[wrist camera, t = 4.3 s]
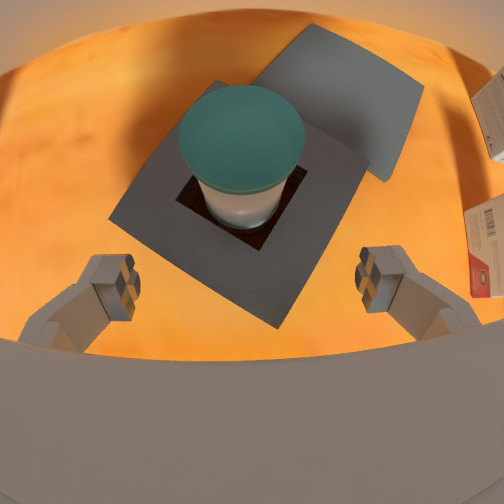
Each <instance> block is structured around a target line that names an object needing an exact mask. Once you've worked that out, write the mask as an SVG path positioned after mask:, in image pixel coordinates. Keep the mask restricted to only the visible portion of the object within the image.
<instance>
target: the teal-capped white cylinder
mask: <svg viewBox="0 0 504 504" xmlns="http://www.w3.org/2000/svg"><path fill="white" fill-rule="evenodd" d="M304 142H305V132H304V126H303V123H302V120H301V118H300V116H299V114H298V112H297V111H296V109H295V108H294V107H293V106H292V105H291V104H290V103H289V102H288V101H287V100H286V99H285V98H283V97H282V96H280V95H279V94H277V93H275V92H273V91H271V90H268V89H265V88H262V87H258V86H252V85H233V86H227V87H223V88H220V89H217V90H214V91H212V92H210V93H208V94H206V95H205V96H203V97H202V98H200V99H199V100H198V101H197V102H196V103H195V104H194V105H193V106H192V107H191V108H190V109H189V110H188V112H187V113H186V115H185V117H184V119H183V121H182V124H181V127H180V132H179V144H180V149H181V152H182V155H183V157H184V159H185V162H186V164H187V166H188V168H189V169H190V171H191V172H192V173H193V175H194V176H195V177H196V178H197V179H198V182H199V184H200V187H201V189H202V192H203V194H204V198H205V202H206V205H207V208H208V210H209V212H210V213H211V215H212V216H213V218H214V219H215V221H216V222H217V223H218V224H219V225H220V226H221V227H223V228H224V229H226V230H228V231H230V232H233V233H238V234H247V233H252V232H255V231H257V230H260V229H261V228H263V227H264V226H265V225H266V224H267V223H268V222H269V221H270V220H271V218H272V216H273V215H274V214H275V212H276V210H277V208H278V206H279V203H280V199H281V193H282V191H283V188H284V185H285V183H286V180H287V177H288V176H289V175H290V174H291V173H292V171H293V170H294V169H295V167H296V165H297V163H298V161H299V158H300V156H301V153H302V150H303V148H304Z"/></svg>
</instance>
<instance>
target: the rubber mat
mask: <svg viewBox="0 0 504 504" xmlns="http://www.w3.org/2000/svg"><path fill="white" fill-rule="evenodd" d="M252 86H258V87H262V88H265V89H268V90H271V91H273V92H275V93H277V94H279V95H280V96H282V97H283V98H285V99H286V100H287V101H288V102H289V103H290V104H291V105H292V106H293V107H294V108H295V109H296V111H297V112H298V114H299V116H300V118H301V120H302V121H304V122H306V123H308V124H310V125H312V126H313V127H315V128H317V129H319V130H320V131H322V132H324V133H326V134H327V135H329V136H331V137H332V138H334V139H336V140H337V141H339V142H341V143H342V144H344V145H345V146H347V147H349V148H350V149H352V150H353V151H355V152H356V153H358V154H360V155H361V156H363V157H364V158H366V159H367V160H369V161H370V164H369V166H368V168H367V171H369V172H370V173H372V174H373V175H375V176H376V177H378V178H379V179H381V180H382V181H383V182H386V181H387V180H389V179H390V177H391V175H392V173H393V170H394V168H395V165H396V163H397V160H398V158H399V156H400V153H401V151H402V148H403V145H404V143H405V140H406V138H407V135H408V132H409V130H410V127H411V124H412V122H413V119H414V116H415V113H416V110H417V107H418V104H419V102H420V99H421V96H422V92H423V89H424V86H423V85H422V84H420V83H419V82H417V81H416V80H414V79H413V78H412V77H410V76H409V75H407V74H406V73H404V72H403V71H401V70H400V69H398V68H397V67H395V66H393V65H392V64H390V63H389V62H387V61H385V60H384V59H382V58H380V57H379V56H377V55H375V54H373V53H372V52H370V51H368V50H366V49H364V48H363V47H361V46H359V45H357V44H355V43H353V42H351V41H349V40H347V39H345V38H343V37H341V36H339V35H337V34H335V33H333V32H331V31H329V30H326V29H324V28H322V27H320V26H317V25H315V24H311V25H310V26H309V27H308V28H307V29H305V30H304V31H303V32H302V33H301V34H300V35H299V36H298V37H297V38H296V39H295V40H294V41H293V42H292V43H291V44H290V45H289V46H288V47H287V48H286V49H285V50H284V51H283V52H282V53H281V54H280V55H279V56H278V57H277V58H276V59H275V60H274V61H273V62H272V63H271V64H270V65H269V66H268V67H267V68H266V69H265V70H264V72H263V73H262V74H261V75H260V76H259V77H258V78H257V79H256V80H255V81H254V82H253V83H252Z"/></svg>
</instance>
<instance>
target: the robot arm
mask: <svg viewBox="0 0 504 504" xmlns="http://www.w3.org/2000/svg"><path fill="white" fill-rule="evenodd" d="M359 257H360V259H361V262H360V263H359V264H358V265H357V267H356V271H355V283H356V287H357V289H358V291H359V292H360V293H362V294H363V298H362V302H363V304H364V307H365V309H366V311H367V313H377V312H387V313H388V314H389V315H391V316H392V317H393V318H394V319H395V320H396V321H397V322H398V323H399V324H400V325H401V326H402V327H403V328H404V329H405V330H407V331H408V332H409V333H410V334H411V335H412V336H413V337H414V338H415V339H416V340H417V341H416V342H411V343H405V344H400V345H395V346H389V347H383V348H377V349H370V350H364V351H357V352H349V353H341V354H333V355H324V356H314V357H303V358H291V359H275V360H255V361H170V360H150V359H136V358H123V357H113V356H103V355H95V354H86V353H83V352H84V351H85V350H86V349H87V347H88V346H89V345H90V344H91V343H92V342H93V341H94V340H95V339H96V337H97V336H98V335H99V334H100V333H101V332H102V331H103V330H104V329H105V328H106V327H107V325H108V324H109V323H110V321H131V320H132V317H133V313H134V310H135V305H134V303H133V302H134V301H135V300H137V299H138V297H139V294H140V285H141V284H140V278H139V275H138V273H137V272H136V271H135V270H134V269H133V267H134V264H135V262H134V260H133V257H132V255H130V254H106V255H105V254H96V255H93V256H92V257H91V259H90V260H89V262H88V264H87V266H86V267H85V269H84V271H83V273H82V274H81V276H80V278H79V280H78V282H77V284H72V285H71V286H69V287H68V288H67V289H65V290H64V291H63V292H61V293H60V294H59V295H57V296H56V297H55V298H53V299H52V300H51V301H50V302H48V303H47V304H46V305H44V306H43V307H42V308H40V309H39V310H38V311H37V312H35V313H34V314H33V315H32V316H30V317H29V319H28V321H27V323H26V325H25V327H24V329H23V331H22V333H21V335H20V337H19V339H18V341H12V340H8V339H4V338H0V504H504V319H501V320H498V321H495V322H491V323H488V324H485V325H482V324H481V323H480V321H479V319H478V318H477V316H476V314H475V312H474V311H473V309H472V308H471V306H470V304H469V303H468V302H466V301H465V300H464V299H462V298H461V297H459V296H458V295H456V294H455V293H453V292H452V291H450V290H449V289H447V288H446V287H444V286H443V285H441V284H439V283H438V282H436V281H435V280H433V279H432V278H430V277H429V276H427V275H425V274H424V273H419V272H418V270H417V269H416V267H415V266H414V264H413V263H412V261H411V260H410V258H409V257H408V255H407V254H406V252H405V251H404V249H403V248H402V247H401V246H399V245H392V246H381V247H363V248H362V250H361V252H360V256H359Z"/></svg>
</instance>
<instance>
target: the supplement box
mask: <svg viewBox="0 0 504 504" xmlns="http://www.w3.org/2000/svg"><path fill="white" fill-rule="evenodd" d="M471 102H472V104H473V107H474V110H475V112H476V115H477V118H478V120H479V123H480V126H481V129H482V132H483V135H484V138H485V141H486V145H487V148H488V151H489V155H490V158H491V160H493V161H496V162H499V163H502V164H504V67H503V68H502V69H501V70H500V71H499V72H498V73H497V74H496V75H494V76H493V77H492V78H491V79H490V80H489V81H488V82H487V83H486V84H485V85H484V86H483V87H482V88H481V89H480V90H479V91H478V92H477V93H476V94H475V95H474V96H473V97H472V98H471Z"/></svg>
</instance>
